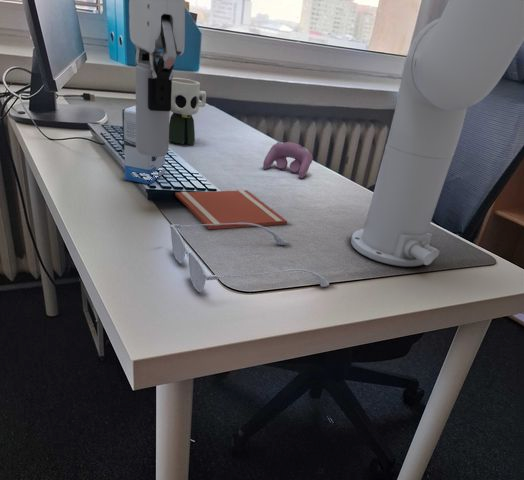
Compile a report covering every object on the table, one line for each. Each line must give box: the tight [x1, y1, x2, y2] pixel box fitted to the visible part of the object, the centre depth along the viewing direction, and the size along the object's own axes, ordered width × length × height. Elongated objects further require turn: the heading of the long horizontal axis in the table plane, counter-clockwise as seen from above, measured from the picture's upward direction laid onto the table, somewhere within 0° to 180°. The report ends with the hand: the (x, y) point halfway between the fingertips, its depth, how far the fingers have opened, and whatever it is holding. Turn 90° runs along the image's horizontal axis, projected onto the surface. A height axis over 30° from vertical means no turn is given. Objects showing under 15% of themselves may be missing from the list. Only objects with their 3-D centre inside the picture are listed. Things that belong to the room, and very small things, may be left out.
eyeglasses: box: [169, 223, 330, 293], centre depth 68 cm, size 15×18×4 cm
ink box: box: [124, 104, 166, 185], centre depth 92 cm, size 8×5×12 cm, turn 168°
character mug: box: [169, 77, 207, 145], centre depth 115 cm, size 11×7×13 cm, turn 117°
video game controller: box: [262, 141, 314, 179], centre depth 110 cm, size 10×5×7 cm, turn 65°
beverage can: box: [135, 61, 171, 157], centre depth 74 cm, size 5×5×12 cm
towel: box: [174, 189, 288, 230], centre depth 87 cm, size 15×14×1 cm
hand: (152, 104), depth 74 cm, fingers closed on beverage can, 4 cm apart
